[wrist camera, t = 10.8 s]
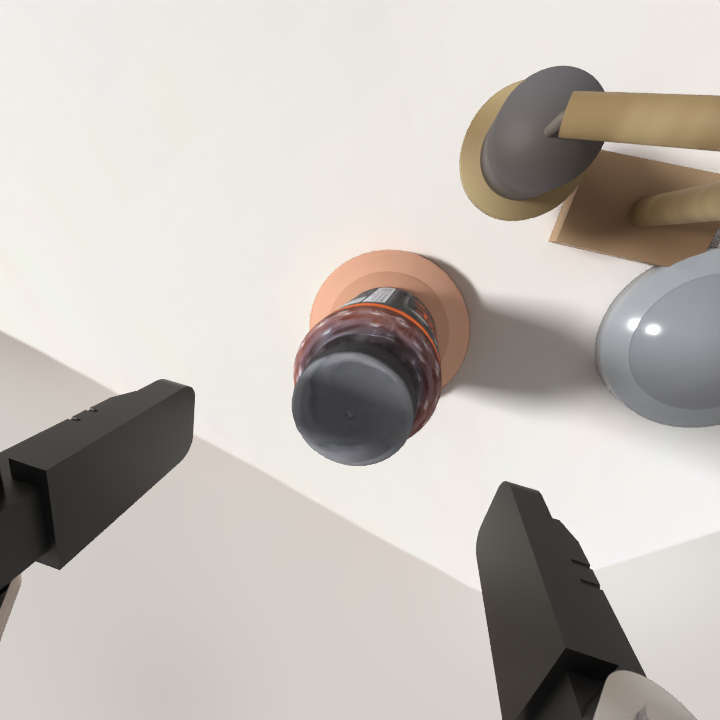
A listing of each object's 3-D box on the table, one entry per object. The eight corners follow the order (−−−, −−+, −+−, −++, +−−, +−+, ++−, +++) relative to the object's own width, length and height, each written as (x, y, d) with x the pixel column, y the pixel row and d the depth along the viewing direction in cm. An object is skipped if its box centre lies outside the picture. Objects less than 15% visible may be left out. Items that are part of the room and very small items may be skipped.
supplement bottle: (450, 359, 21) (477, 470, 11) (363, 390, 23) (311, 513, 12) (414, 267, 20) (402, 290, 9) (324, 307, 22) (229, 365, 11)
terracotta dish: (330, 233, 21) (324, 232, 20) (490, 271, 21) (494, 273, 19) (304, 377, 25) (297, 384, 24) (440, 415, 24) (441, 425, 23)
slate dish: (646, 228, 19) (661, 227, 17) (849, 273, 18) (880, 275, 16) (567, 392, 22) (575, 401, 21) (733, 437, 21) (752, 449, 20)
